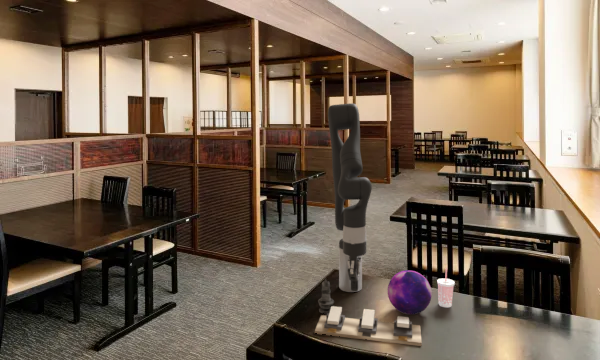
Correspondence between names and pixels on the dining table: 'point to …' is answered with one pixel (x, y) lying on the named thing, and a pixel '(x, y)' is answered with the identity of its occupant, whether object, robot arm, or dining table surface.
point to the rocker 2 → (368, 319)
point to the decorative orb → (409, 292)
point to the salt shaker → (325, 298)
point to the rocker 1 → (334, 315)
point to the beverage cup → (445, 291)
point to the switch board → (371, 330)
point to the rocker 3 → (403, 322)
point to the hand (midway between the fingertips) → (354, 289)
